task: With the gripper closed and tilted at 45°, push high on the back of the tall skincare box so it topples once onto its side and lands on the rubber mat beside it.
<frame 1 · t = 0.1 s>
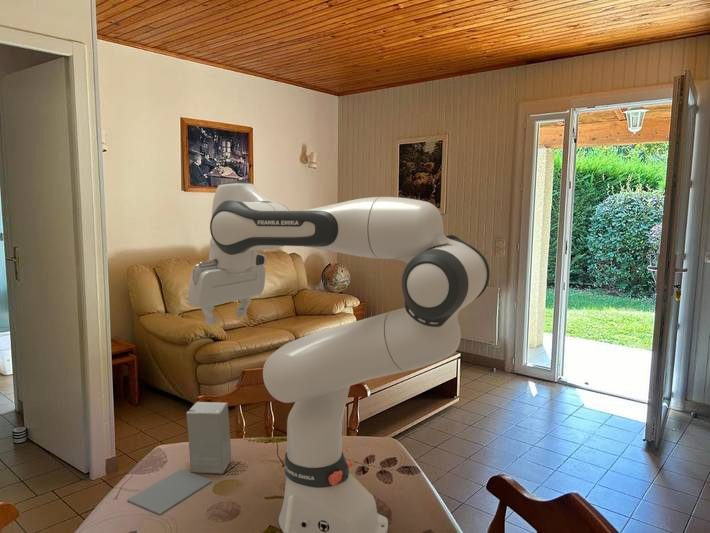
hand: (226, 320, 114), 39 cm above the table, tool pointing down, fingers open, 8 cm apart
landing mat: (171, 491, 117), on the table
skincare box: (210, 468, 128), on the table
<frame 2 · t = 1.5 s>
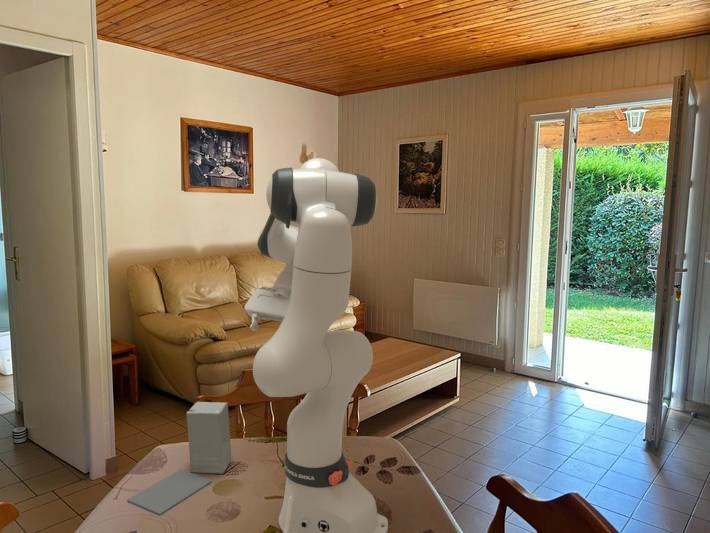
hand: (266, 332, 139), 30 cm above the table, tool tilted 45°, fingers open, 8 cm apart
nothing on the table moved.
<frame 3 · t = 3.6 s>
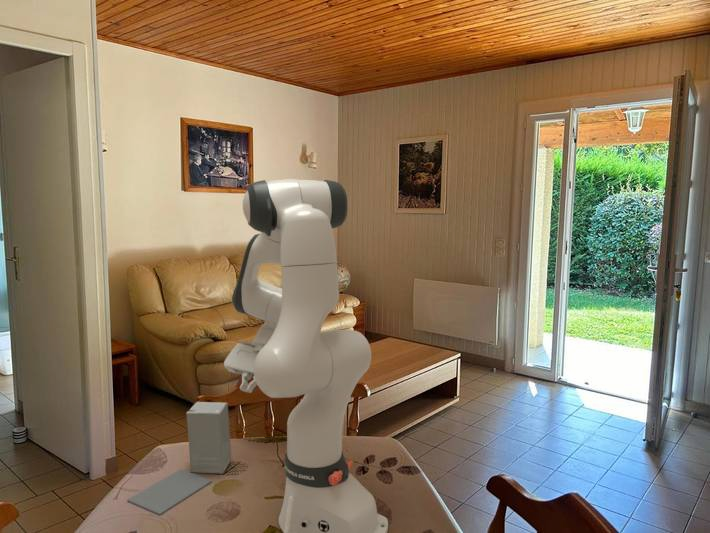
hand: (244, 391, 137), 15 cm above the table, tool tilted 45°, fingers closed
nothing on the table moved.
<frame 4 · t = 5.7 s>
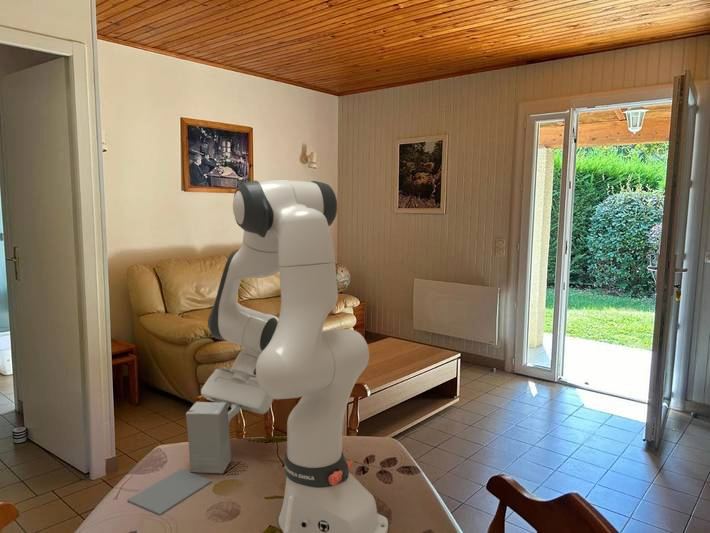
hand: (222, 421, 130), 10 cm above the table, tool tilted 45°, fingers closed
skincare box: (210, 468, 128), on the table, touching gripper
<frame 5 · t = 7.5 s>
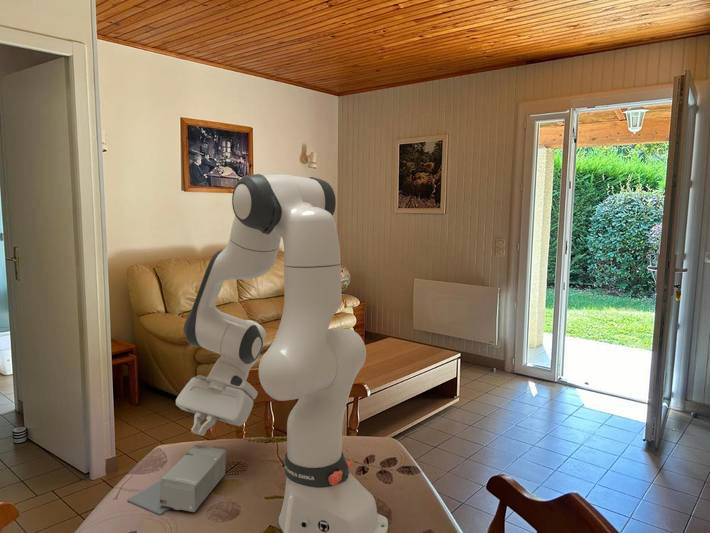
hand: (196, 433, 123), 10 cm above the table, tool tilted 45°, fingers closed
skincare box: (209, 460, 125), point 3 cm above the table, touching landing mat
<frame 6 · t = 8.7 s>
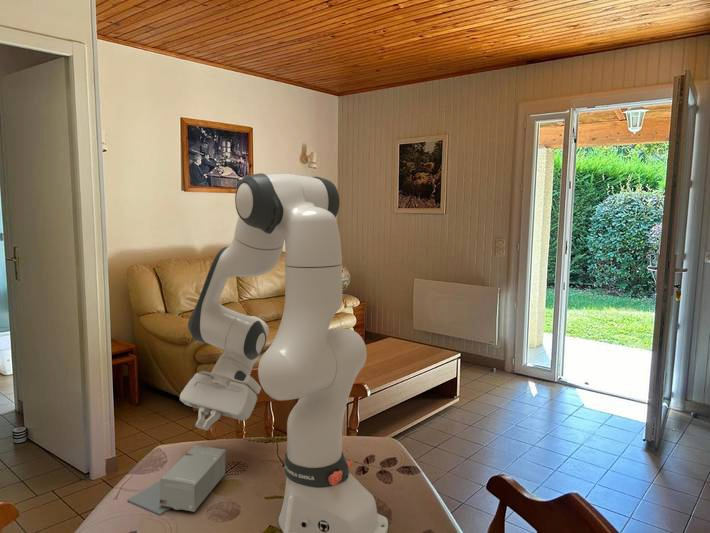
hand: (201, 428, 124), 11 cm above the table, tool tilted 45°, fingers closed
nothing on the table moved.
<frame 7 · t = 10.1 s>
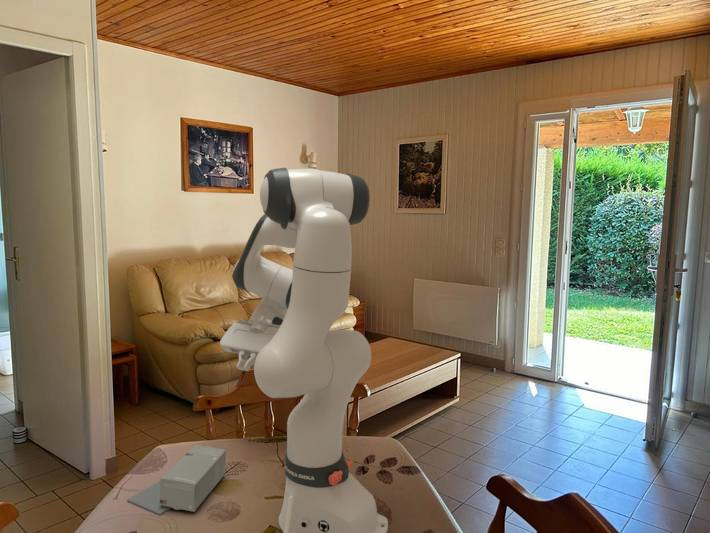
hand: (242, 369, 133), 22 cm above the table, tool tilted 45°, fingers closed
nothing on the table moved.
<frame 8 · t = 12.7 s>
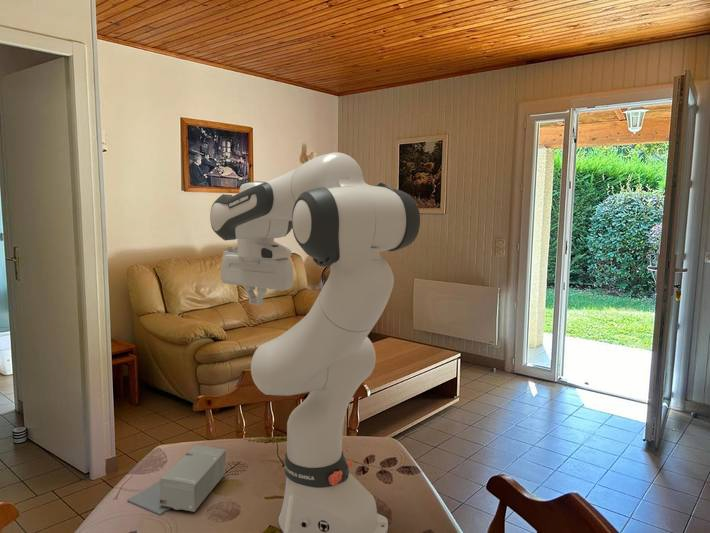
hand: (256, 304, 130), 39 cm above the table, tool pointing down, fingers closed
nothing on the table moved.
at the end: skincare box tilted 87°; skincare box inside the target area (3.5 cm from its centre), point 3.3 cm above the table; skincare box touching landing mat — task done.
